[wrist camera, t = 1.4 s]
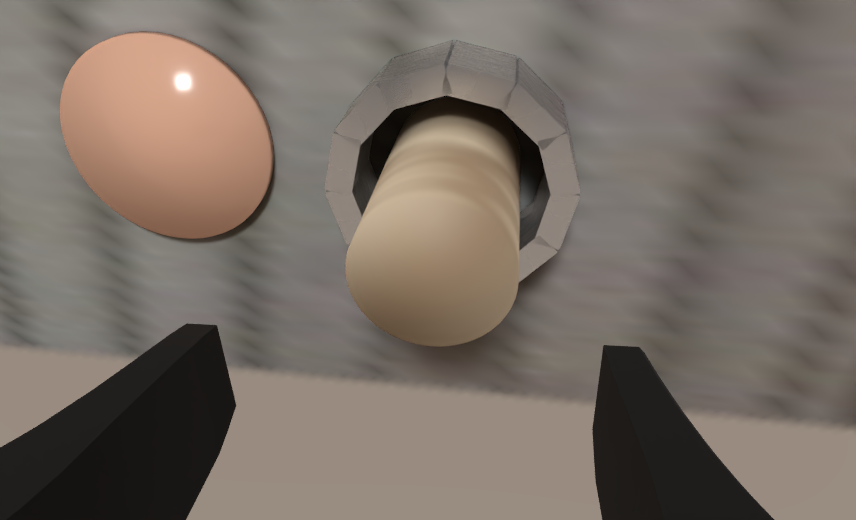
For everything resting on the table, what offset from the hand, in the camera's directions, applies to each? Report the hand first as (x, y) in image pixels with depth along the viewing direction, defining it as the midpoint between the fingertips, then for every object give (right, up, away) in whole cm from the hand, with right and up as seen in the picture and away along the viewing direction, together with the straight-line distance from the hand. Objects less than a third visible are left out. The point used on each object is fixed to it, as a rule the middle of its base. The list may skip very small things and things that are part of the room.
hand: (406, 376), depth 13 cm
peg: (+1, +5, +9) cm, 10 cm away
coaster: (-8, +6, +10) cm, 14 cm away
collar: (+1, +5, +9) cm, 10 cm away
